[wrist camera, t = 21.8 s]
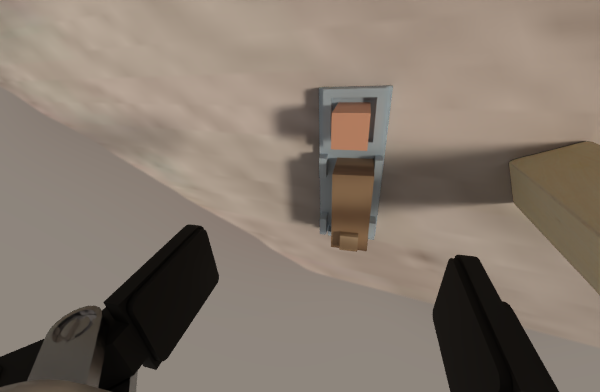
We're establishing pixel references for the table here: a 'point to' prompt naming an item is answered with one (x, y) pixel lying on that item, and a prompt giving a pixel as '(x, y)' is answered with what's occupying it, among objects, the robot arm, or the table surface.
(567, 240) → the toy refrigerator
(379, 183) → the jig
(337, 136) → the brown rectangular brick
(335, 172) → the brown tabbed block
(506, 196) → the table surface
